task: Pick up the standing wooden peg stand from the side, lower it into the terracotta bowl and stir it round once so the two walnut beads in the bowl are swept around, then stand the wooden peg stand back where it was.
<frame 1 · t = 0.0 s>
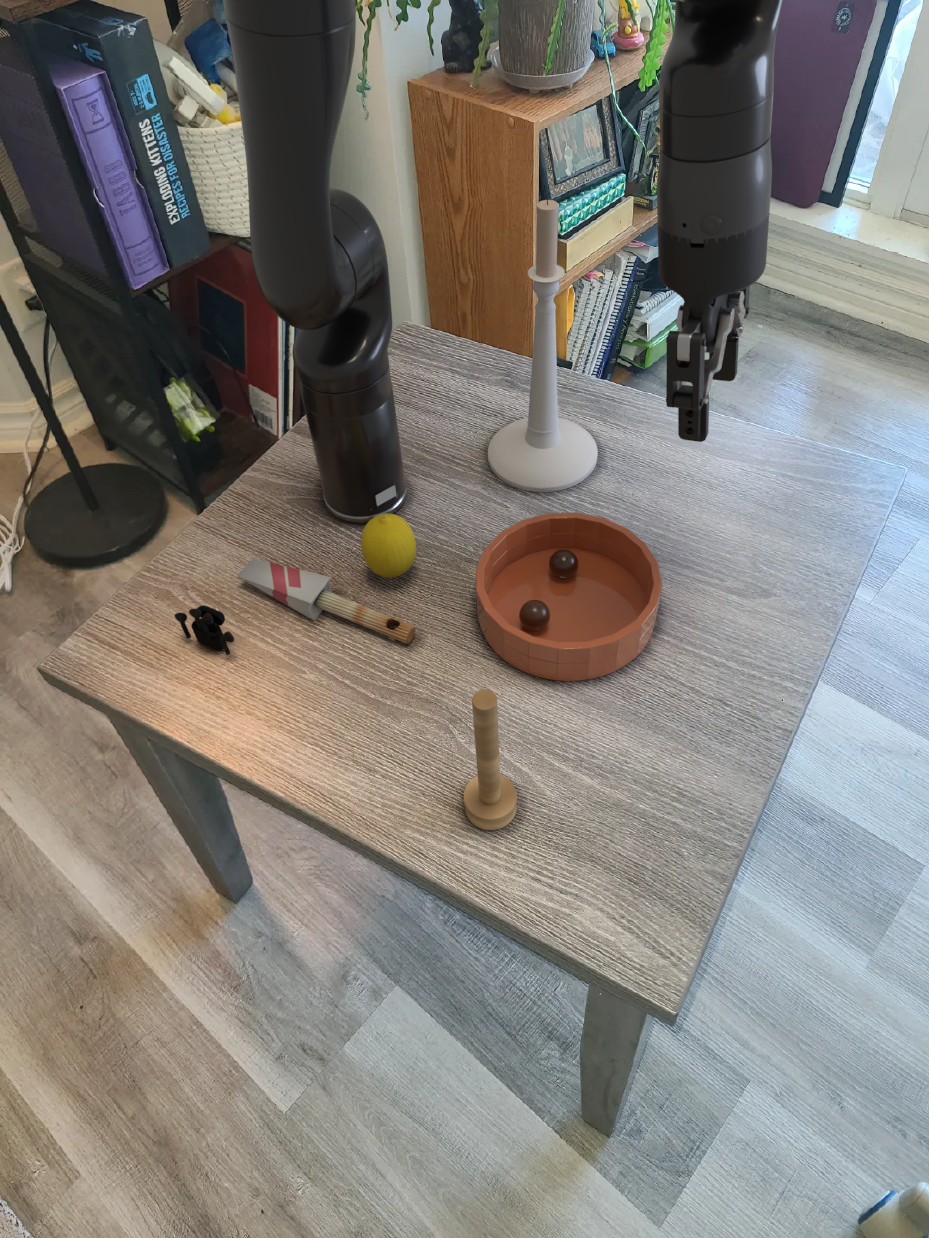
hand: (708, 407, 74), 22 cm above the table, tool pointing down, fingers open, 8 cm apart
bead a: (563, 564, 91), point 2 cm above the table, touching bowl
bowl: (565, 609, 90), on the table
bead b: (534, 615, 87), point 2 cm above the table, touching bowl
candlestick: (542, 456, 105), on the table
wooden peg stand: (490, 806, 76), on the table
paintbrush: (327, 609, 91), on the table
lemon: (393, 574, 94), on the table
wireless earbuds: (217, 643, 89), on the table
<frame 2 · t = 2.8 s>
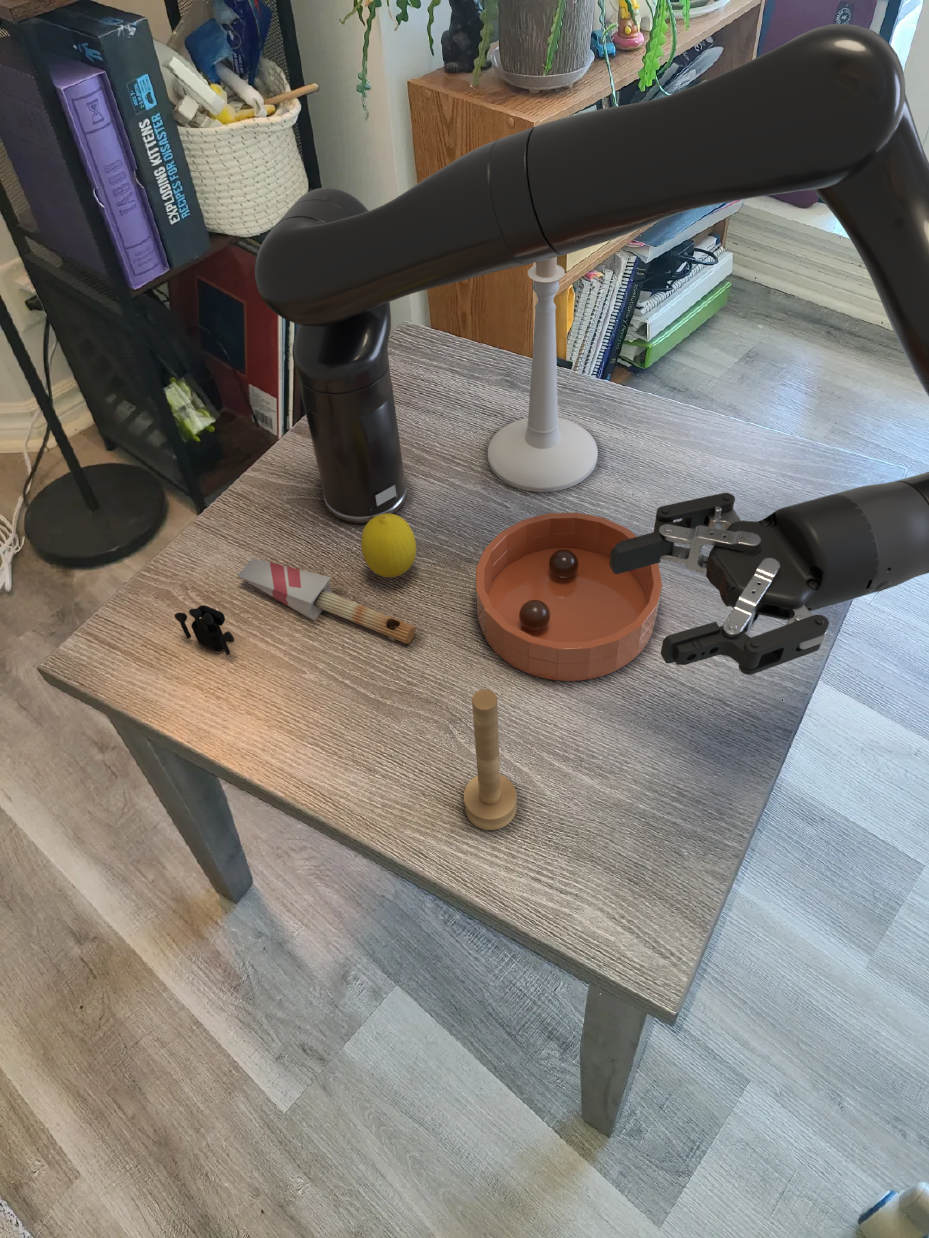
hand: (636, 604, 61), 22 cm above the table, tool horizontal, fingers open, 8 cm apart
nothing on the table moved.
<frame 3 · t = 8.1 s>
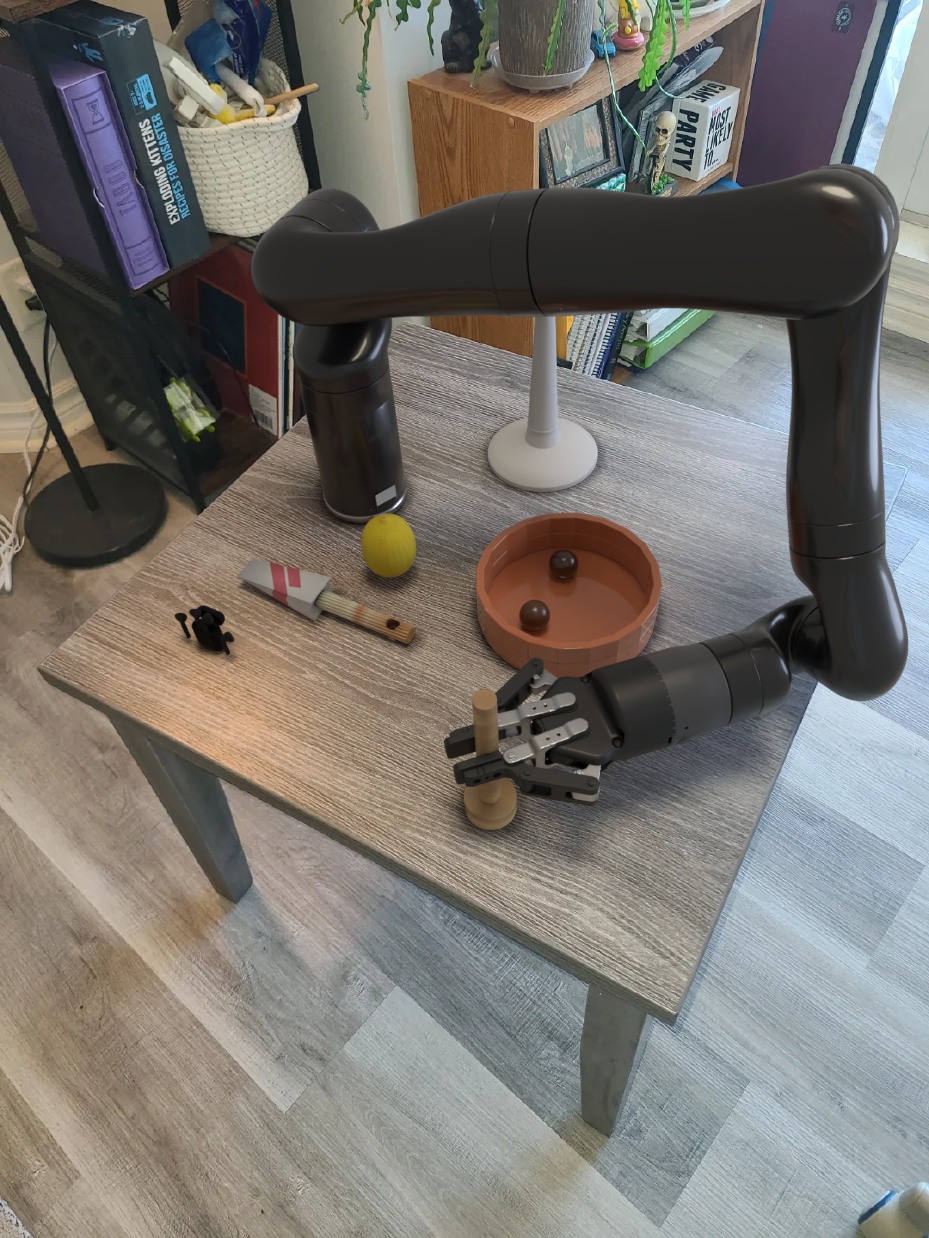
hand: (451, 762, 69), 9 cm above the table, tool horizontal, fingers closed on wooden peg stand, 2 cm apart
wooden peg stand: (490, 806, 76), on the table, touching gripper
everything else where it was.
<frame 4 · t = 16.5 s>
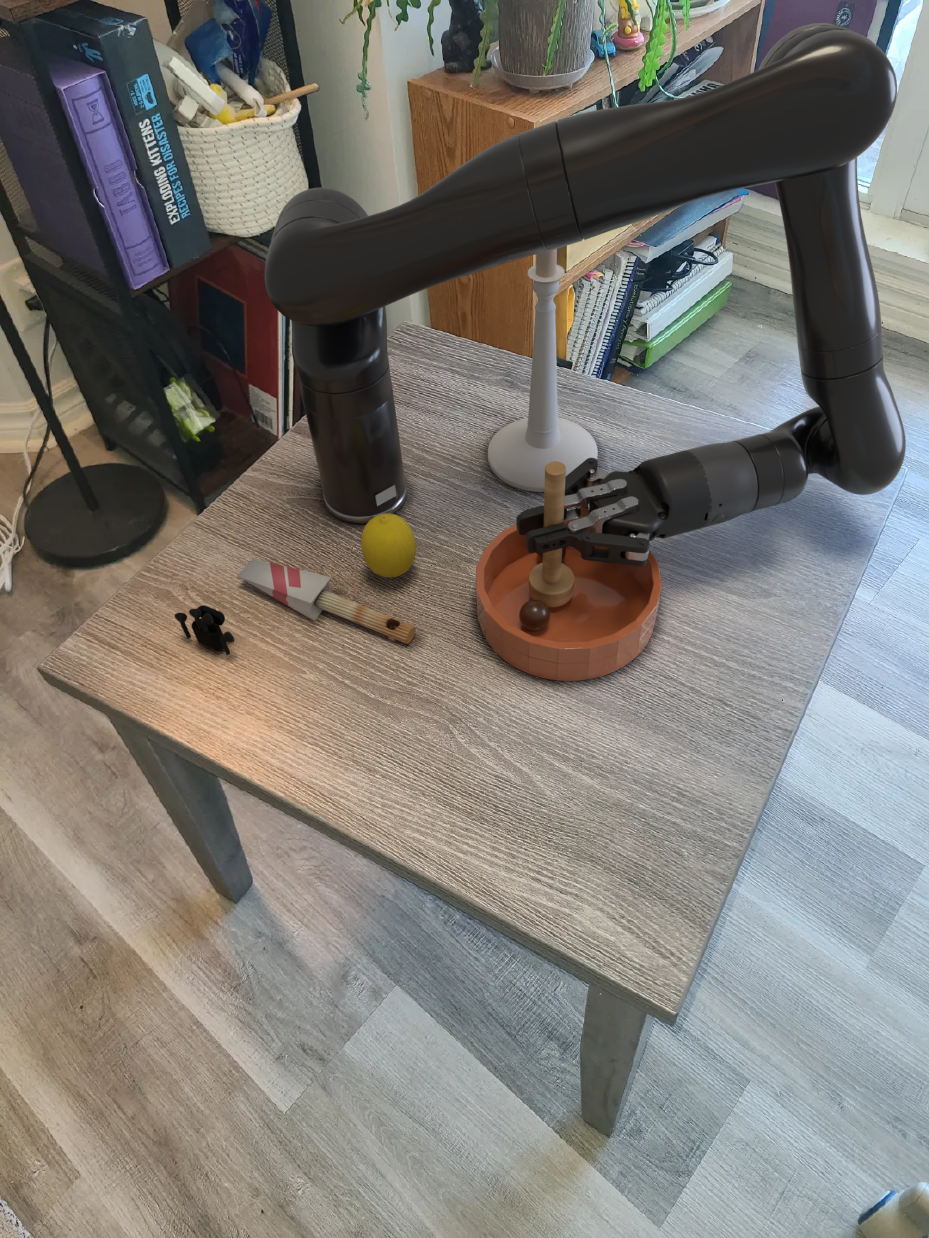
hand: (523, 534, 82), 10 cm above the table, tool horizontal, fingers closed on wooden peg stand, 2 cm apart
bead a: (551, 551, 92), point 2 cm above the table, tilted 81°, touching bowl
wooden peg stand: (551, 590, 89), point 1 cm above the table, touching gripper
everything else where it was.
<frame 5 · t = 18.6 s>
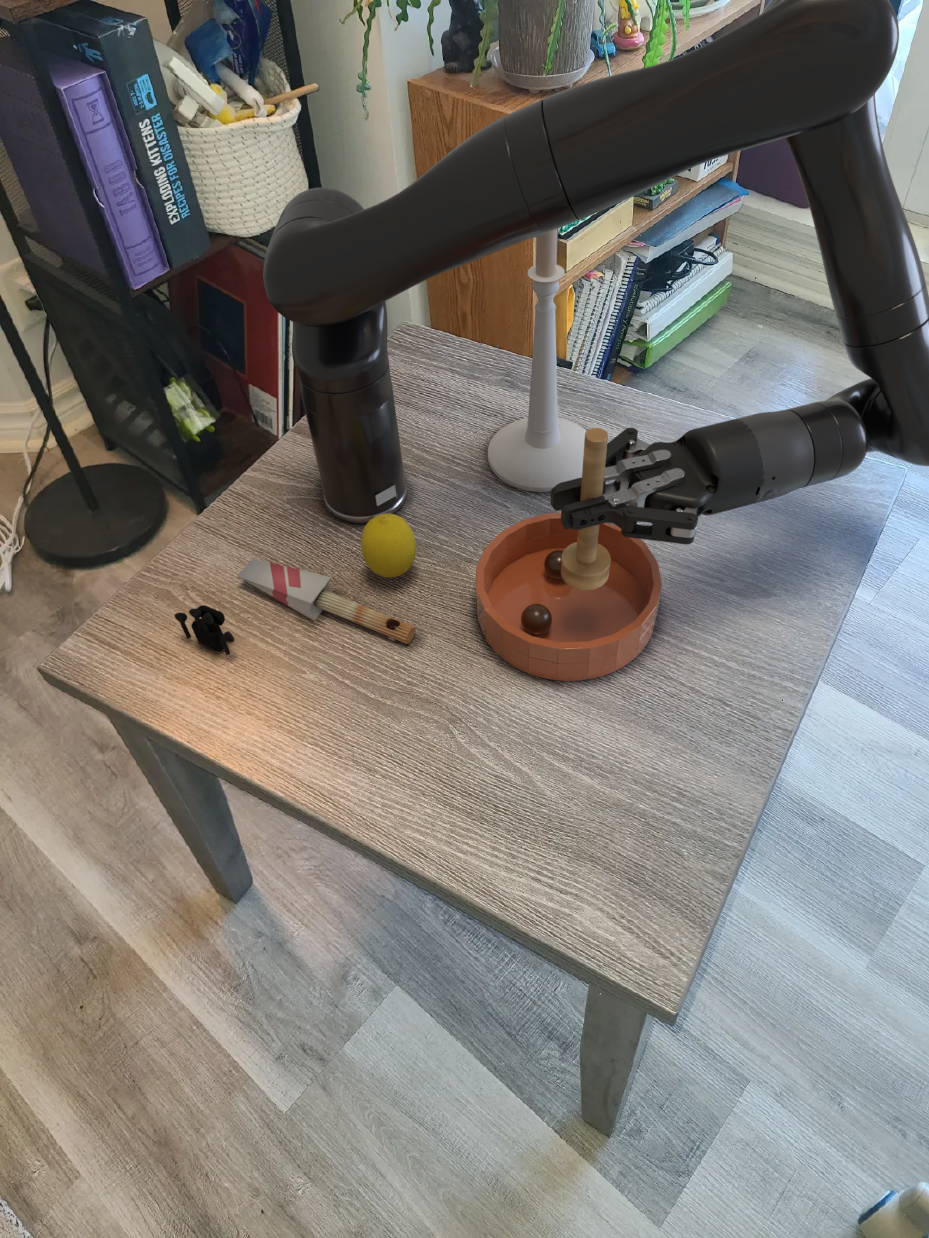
hand: (558, 509, 75), 17 cm above the table, tool horizontal, fingers closed on wooden peg stand
bead a: (558, 565, 91), point 2 cm above the table, tilted 12°, touching bowl
bead b: (536, 619, 86), point 2 cm above the table, tilted 16°, touching bowl
wooden peg stand: (584, 572, 82), point 8 cm above the table, touching gripper
everything else where it was.
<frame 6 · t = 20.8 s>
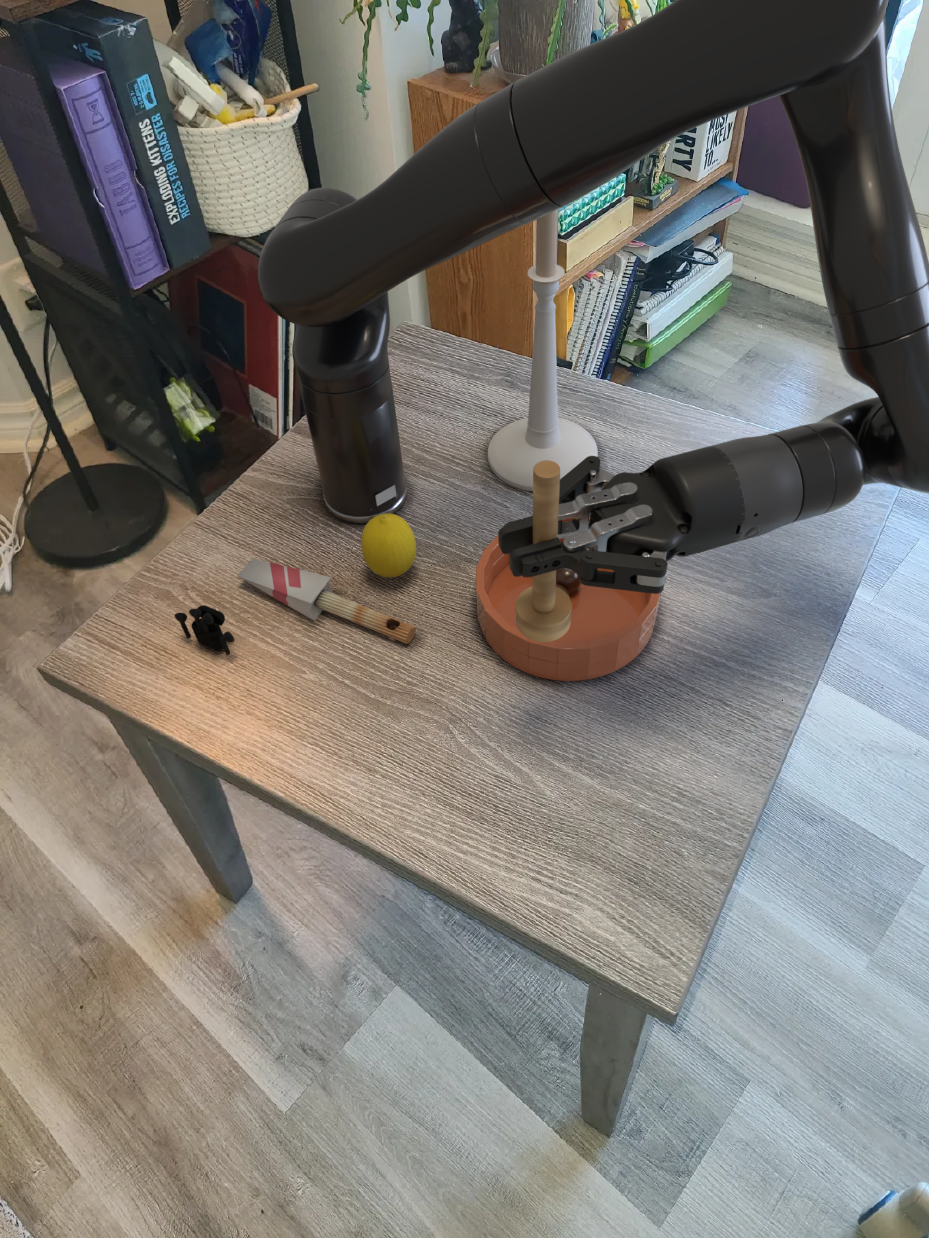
hand: (506, 553, 65), 22 cm above the table, tool horizontal, fingers closed on wooden peg stand
bead a: (566, 578, 89), point 2 cm above the table, tilted 72°, touching bowl
bead b: (554, 599, 88), point 2 cm above the table, tilted 105°, touching bowl
wooden peg stand: (543, 620, 72), point 13 cm above the table, touching gripper
everything else where it was.
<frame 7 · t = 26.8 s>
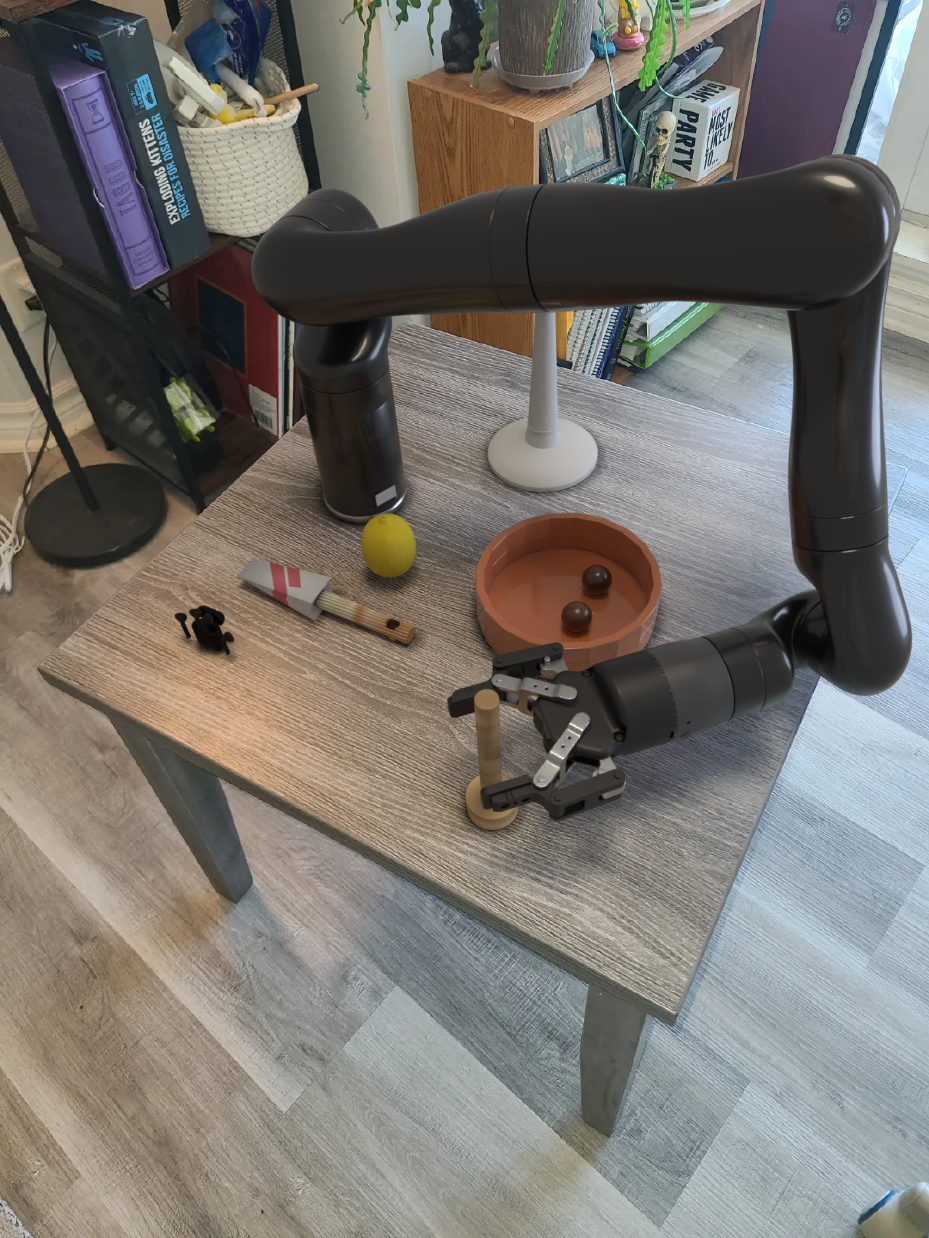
hand: (464, 752, 68), 10 cm above the table, tool horizontal, fingers open, 8 cm apart
bead a: (596, 579, 89), point 2 cm above the table, tilted 108°, touching bowl
bead b: (576, 616, 86), point 2 cm above the table, tilted 80°, touching bowl
wooden peg stand: (492, 806, 76), on the table
everything else where it was.
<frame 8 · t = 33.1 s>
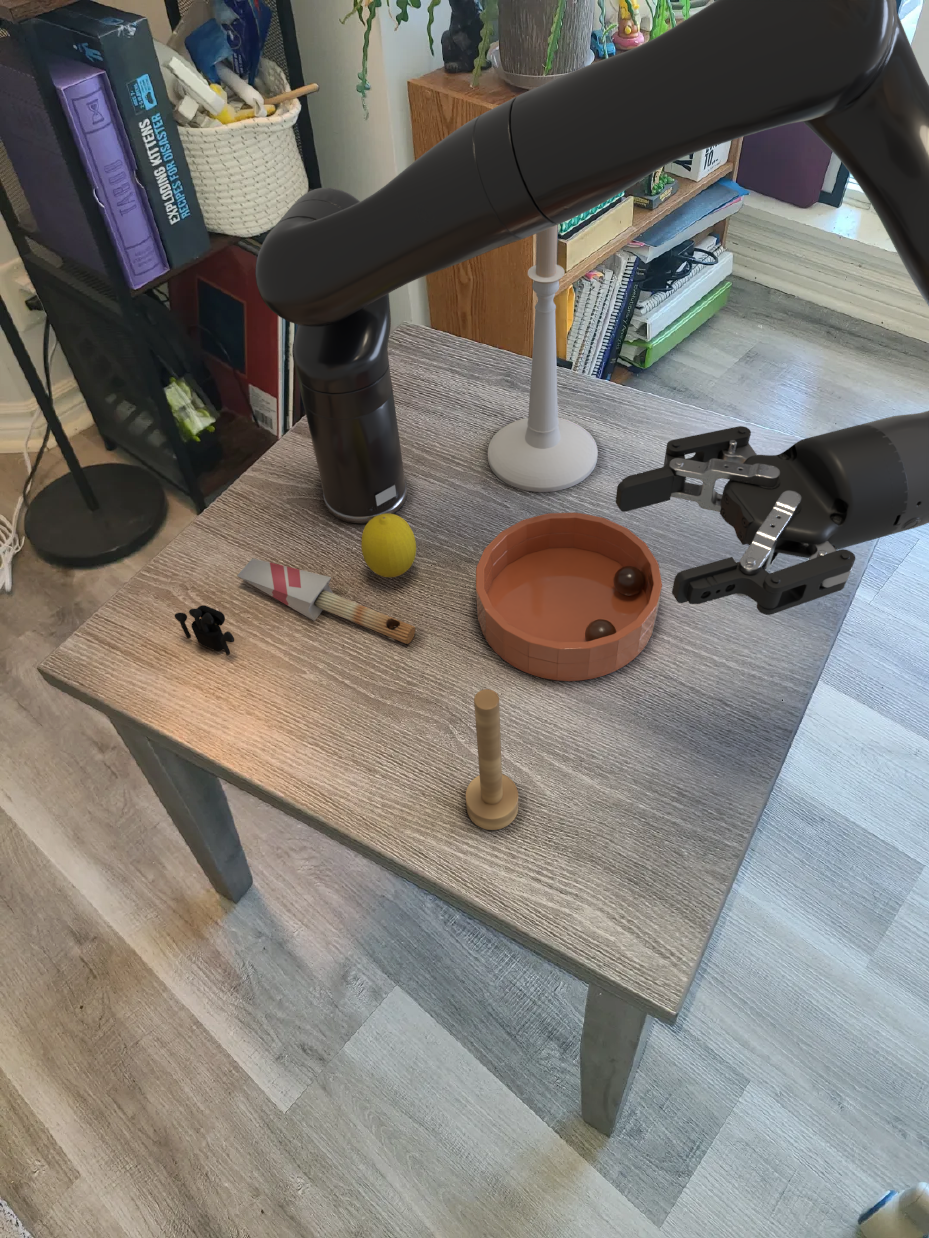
hand: (645, 541, 56), 28 cm above the table, tool horizontal, fingers open, 8 cm apart
bead a: (628, 580, 89), point 2 cm above the table, tilted 91°, touching bowl
bead b: (600, 634, 85), point 2 cm above the table, tilted 85°, touching bowl
everything else where it was.
at the end: bead a moved 6.8 cm from its start; bead a inside the target area in the bowl (6.5 cm from its centre), point 2.1 cm above the bowl's base; wooden peg stand tilted 0° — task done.
